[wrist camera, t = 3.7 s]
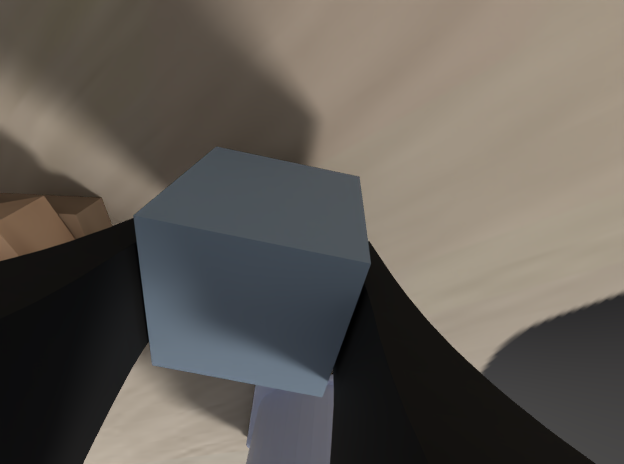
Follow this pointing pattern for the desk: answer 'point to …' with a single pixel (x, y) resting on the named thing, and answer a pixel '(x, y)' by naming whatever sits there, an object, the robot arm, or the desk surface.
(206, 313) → the cube
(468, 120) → the desk surface
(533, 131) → the desk surface
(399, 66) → the desk surface
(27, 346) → the robot arm
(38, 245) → the tower mid
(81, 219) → the tower base
